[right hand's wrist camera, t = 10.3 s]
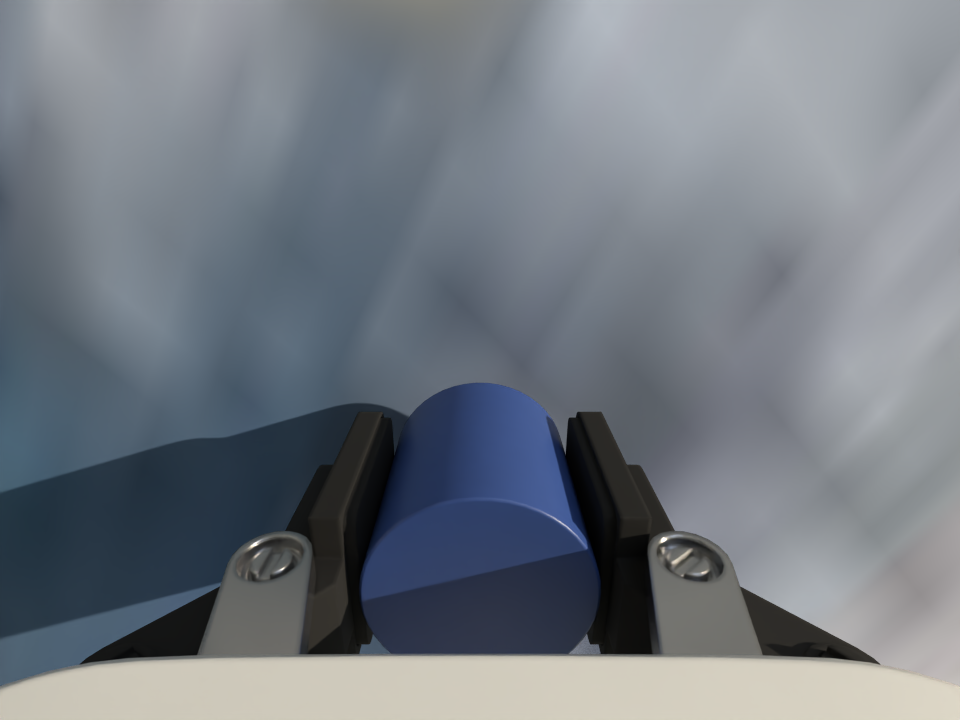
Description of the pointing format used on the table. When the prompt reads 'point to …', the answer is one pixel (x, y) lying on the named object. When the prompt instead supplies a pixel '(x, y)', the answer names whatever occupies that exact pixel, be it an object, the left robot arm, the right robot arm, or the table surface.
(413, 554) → the canister
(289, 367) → the table surface
